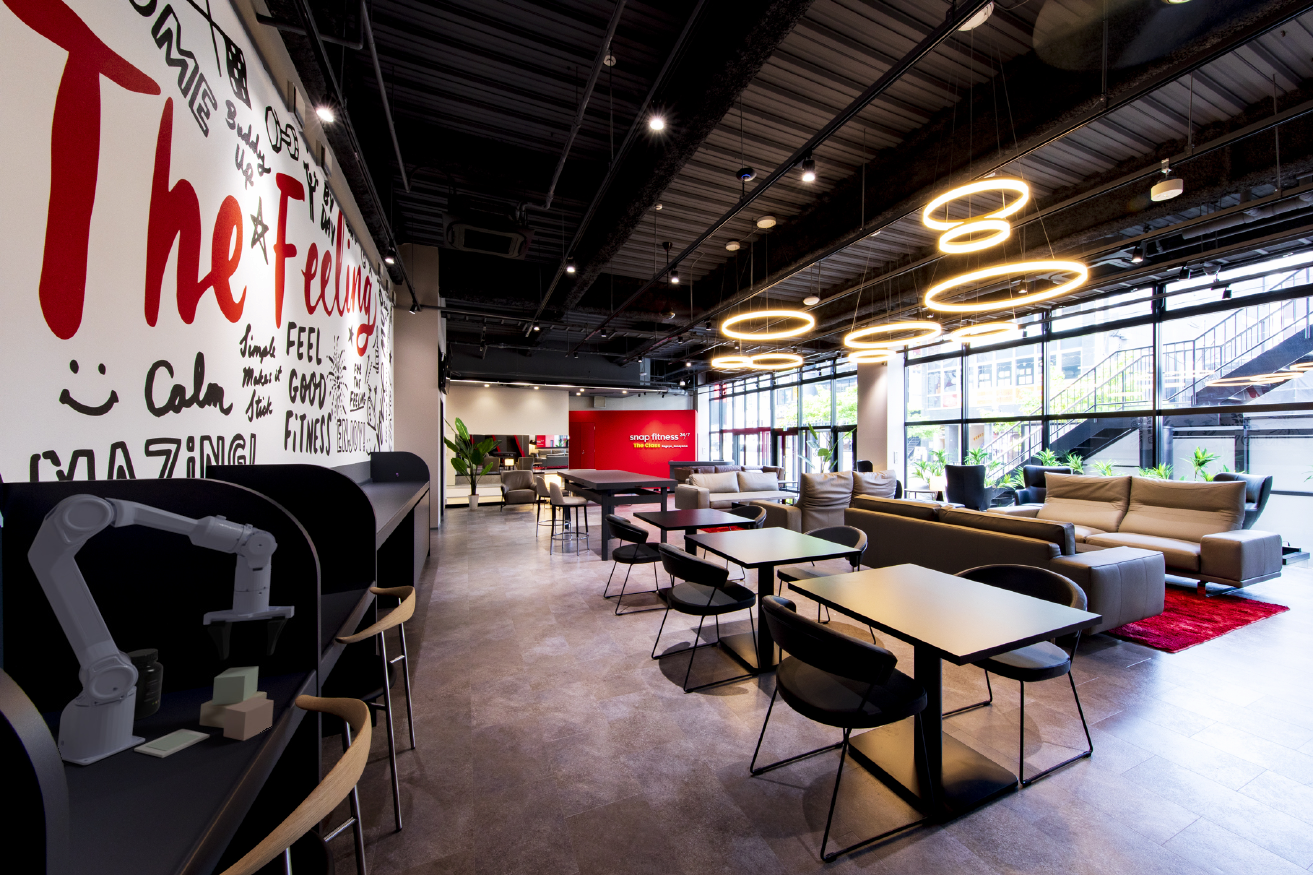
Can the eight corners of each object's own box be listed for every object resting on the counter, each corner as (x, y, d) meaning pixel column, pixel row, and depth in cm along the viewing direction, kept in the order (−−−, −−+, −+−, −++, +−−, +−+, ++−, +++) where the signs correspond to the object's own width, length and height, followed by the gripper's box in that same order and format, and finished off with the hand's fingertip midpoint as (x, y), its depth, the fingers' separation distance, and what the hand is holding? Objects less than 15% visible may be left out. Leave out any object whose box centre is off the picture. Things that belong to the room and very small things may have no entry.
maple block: (199, 725, 96) (201, 704, 96) (236, 709, 102) (238, 688, 103) (229, 730, 94) (231, 708, 95) (265, 712, 101) (266, 692, 101)
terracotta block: (223, 736, 92) (225, 708, 92) (252, 723, 96) (254, 696, 97) (243, 741, 90) (245, 712, 91) (271, 727, 95) (273, 700, 95)
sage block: (212, 704, 96) (214, 677, 96) (227, 693, 100) (229, 667, 101) (243, 702, 97) (244, 675, 97) (256, 691, 102) (258, 666, 102)
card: (134, 750, 86) (134, 747, 86) (182, 730, 93) (182, 728, 93) (162, 757, 84) (162, 754, 85) (209, 736, 91) (209, 733, 91)
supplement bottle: (98, 725, 95) (105, 659, 96) (128, 708, 101) (134, 647, 102) (142, 722, 96) (147, 657, 97) (168, 705, 103) (173, 645, 104)
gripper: (198, 595, 97) (193, 668, 96) (288, 590, 102) (284, 658, 101) (214, 587, 103) (209, 655, 103) (298, 582, 109) (294, 647, 108)
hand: (247, 656), depth 102 cm, fingers open, 7 cm apart
